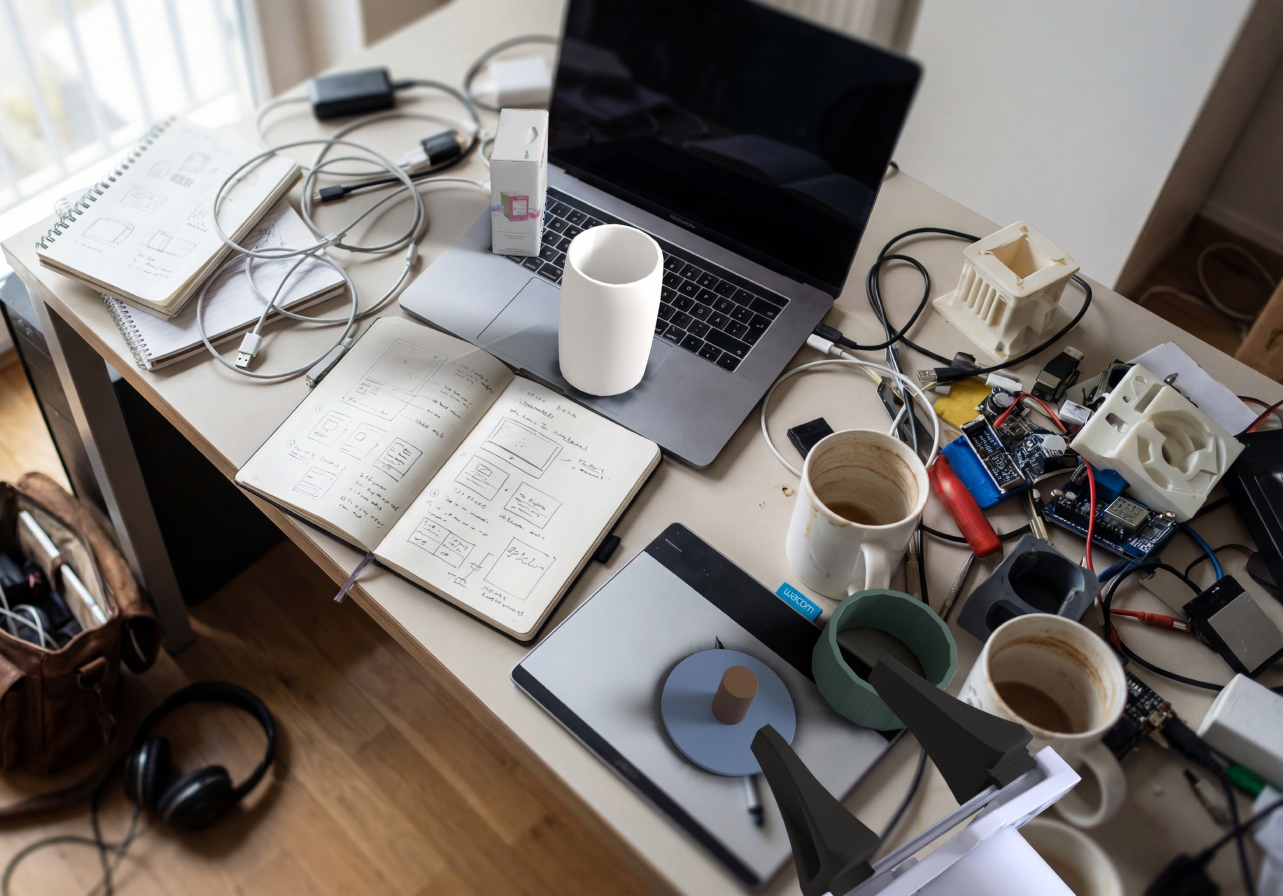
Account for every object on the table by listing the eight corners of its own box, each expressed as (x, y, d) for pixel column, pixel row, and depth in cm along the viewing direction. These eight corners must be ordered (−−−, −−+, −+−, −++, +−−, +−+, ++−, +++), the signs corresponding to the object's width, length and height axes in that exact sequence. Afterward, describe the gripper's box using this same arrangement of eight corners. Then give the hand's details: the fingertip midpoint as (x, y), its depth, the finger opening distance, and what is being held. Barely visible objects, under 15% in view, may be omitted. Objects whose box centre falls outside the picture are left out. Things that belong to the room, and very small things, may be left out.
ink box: (500, 201, 109) (500, 104, 99) (547, 205, 108) (551, 107, 99) (489, 254, 103) (489, 157, 94) (538, 258, 103) (542, 161, 93)
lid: (820, 737, 72) (841, 705, 67) (714, 805, 69) (729, 775, 64) (735, 634, 77) (750, 597, 72) (634, 693, 74) (642, 658, 69)
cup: (581, 419, 90) (593, 303, 79) (539, 356, 95) (544, 238, 83) (664, 389, 92) (687, 271, 81) (619, 328, 97) (635, 209, 85)
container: (956, 696, 73) (984, 663, 69) (867, 754, 71) (891, 724, 67) (872, 605, 78) (894, 569, 74) (785, 657, 75) (803, 623, 71)
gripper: (1203, 837, 42) (953, 594, 50) (946, 1032, 37) (716, 731, 45) (1123, 894, 47) (909, 666, 55) (890, 1071, 42) (693, 795, 50)
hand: (819, 700), depth 50 cm, fingers open, 7 cm apart
